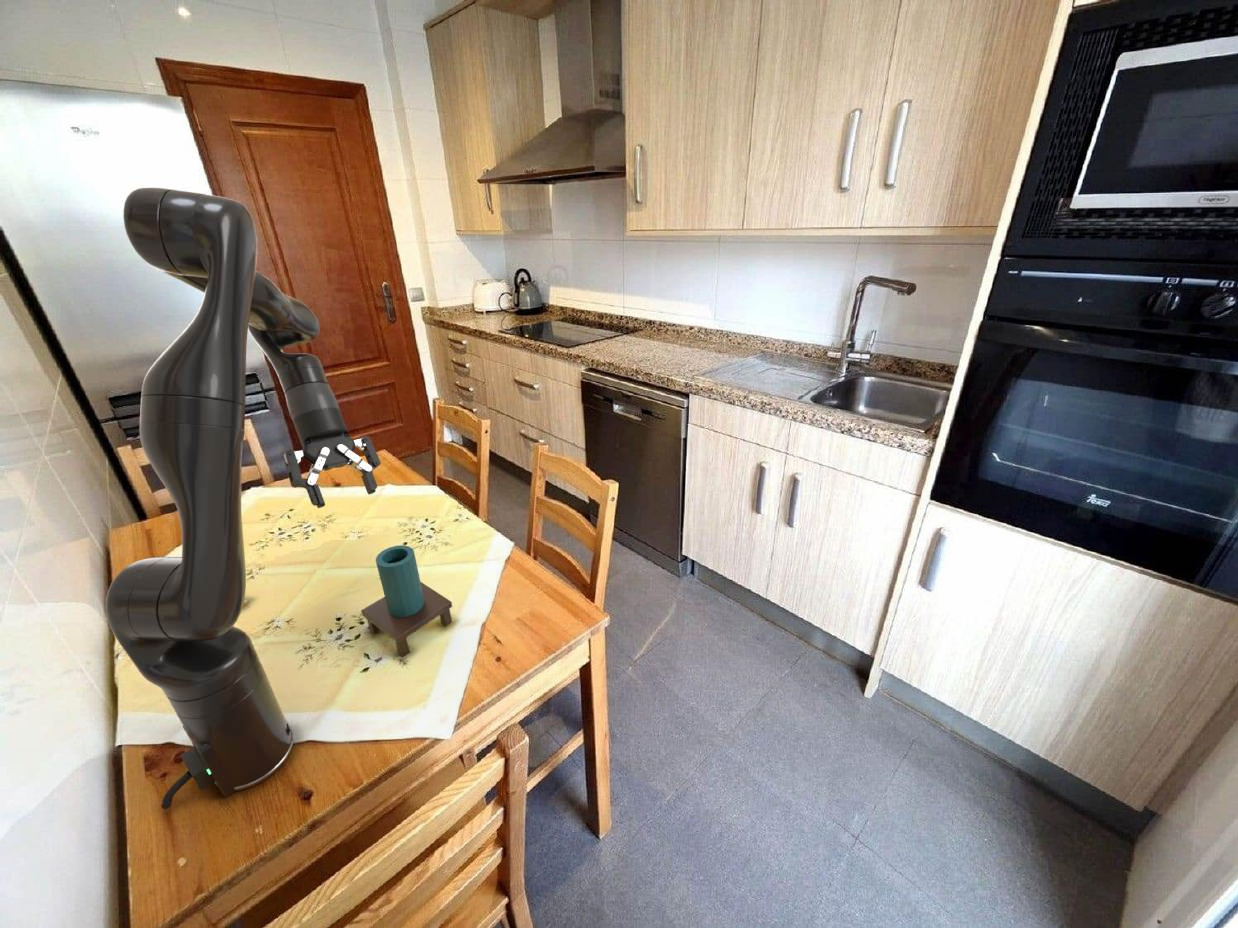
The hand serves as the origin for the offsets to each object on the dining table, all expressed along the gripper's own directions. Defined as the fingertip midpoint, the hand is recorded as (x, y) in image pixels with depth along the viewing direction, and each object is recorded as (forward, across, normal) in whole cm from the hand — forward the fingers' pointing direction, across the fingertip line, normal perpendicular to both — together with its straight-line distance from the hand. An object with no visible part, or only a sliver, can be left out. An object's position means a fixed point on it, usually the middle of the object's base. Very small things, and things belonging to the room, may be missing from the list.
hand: (347, 499), depth 88 cm
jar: (+21, +3, 0) cm, 21 cm away
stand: (+26, +4, +2) cm, 26 cm away
